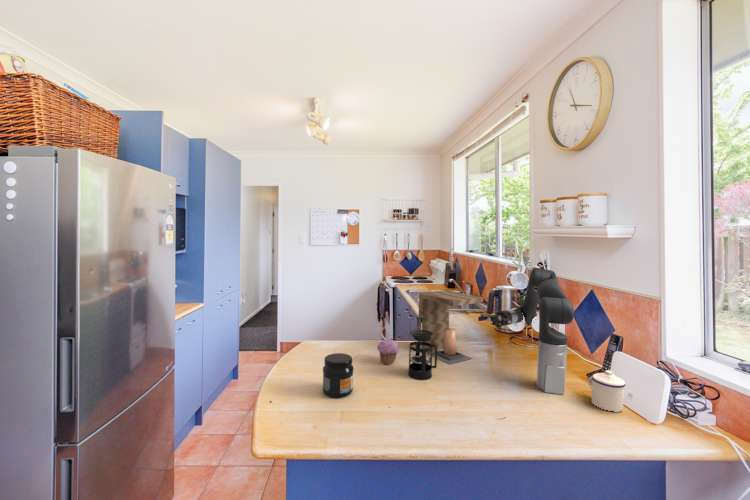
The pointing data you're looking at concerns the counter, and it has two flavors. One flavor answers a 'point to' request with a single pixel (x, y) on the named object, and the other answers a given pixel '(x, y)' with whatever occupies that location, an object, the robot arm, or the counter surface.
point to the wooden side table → (440, 312)
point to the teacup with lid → (607, 391)
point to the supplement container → (338, 375)
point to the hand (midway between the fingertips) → (485, 320)
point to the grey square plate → (450, 360)
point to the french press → (421, 362)
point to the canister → (450, 342)
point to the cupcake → (387, 351)
